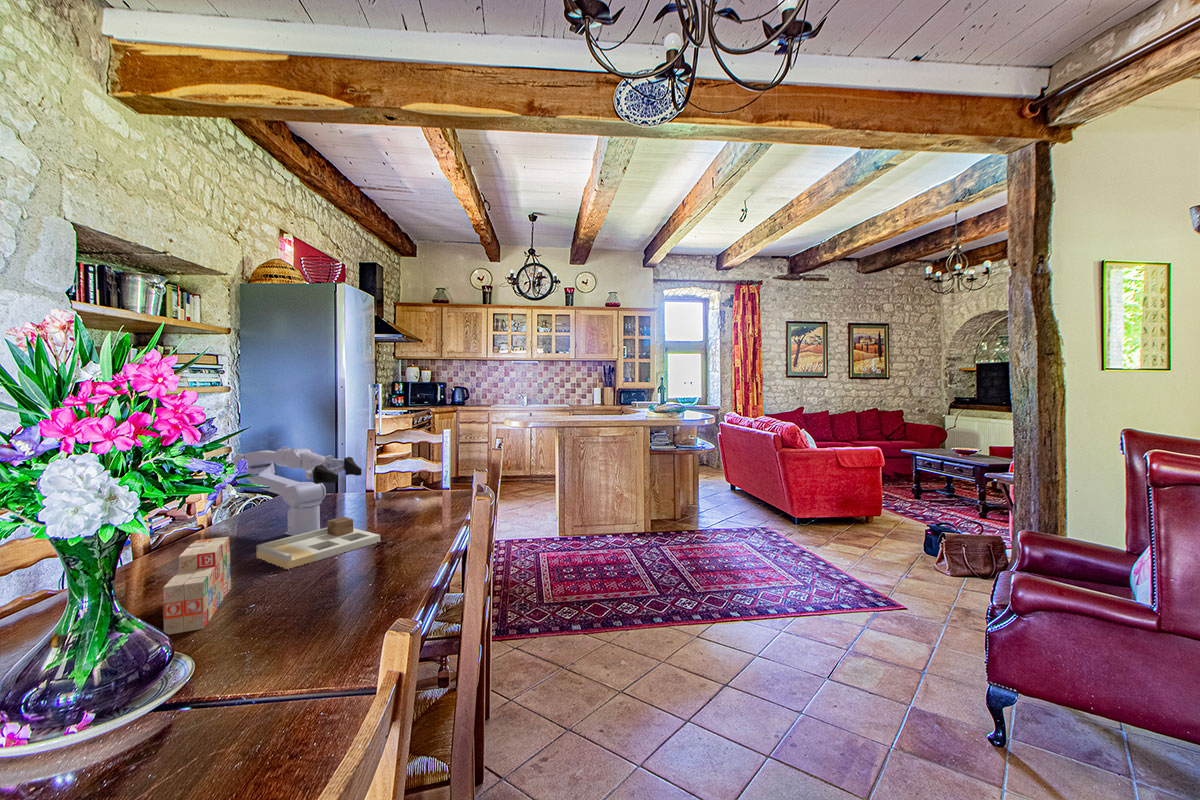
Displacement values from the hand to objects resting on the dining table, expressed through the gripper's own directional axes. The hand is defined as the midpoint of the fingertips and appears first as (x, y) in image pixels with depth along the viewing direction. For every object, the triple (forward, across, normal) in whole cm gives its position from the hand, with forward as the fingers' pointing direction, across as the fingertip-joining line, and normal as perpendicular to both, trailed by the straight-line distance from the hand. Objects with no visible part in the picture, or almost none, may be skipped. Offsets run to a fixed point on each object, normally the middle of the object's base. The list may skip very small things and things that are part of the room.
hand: (349, 475), depth 148 cm
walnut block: (-2, -1, +18) cm, 18 cm away
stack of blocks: (+14, -45, +14) cm, 49 cm away
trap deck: (+1, -10, +19) cm, 21 cm away
